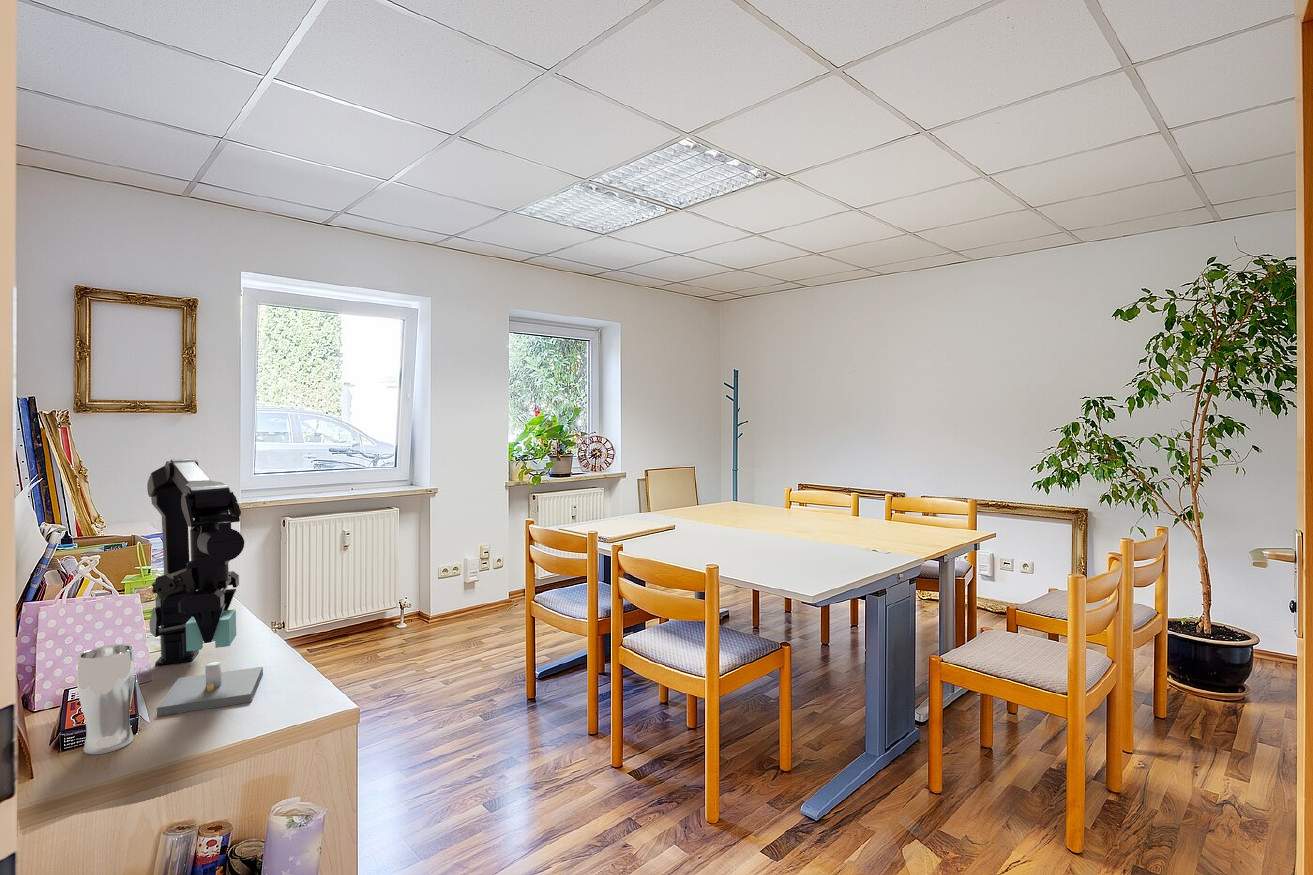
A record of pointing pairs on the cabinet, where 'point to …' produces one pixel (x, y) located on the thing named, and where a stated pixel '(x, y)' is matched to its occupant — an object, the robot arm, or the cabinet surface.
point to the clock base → (211, 690)
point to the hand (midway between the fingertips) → (212, 636)
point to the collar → (222, 634)
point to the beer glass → (106, 696)
